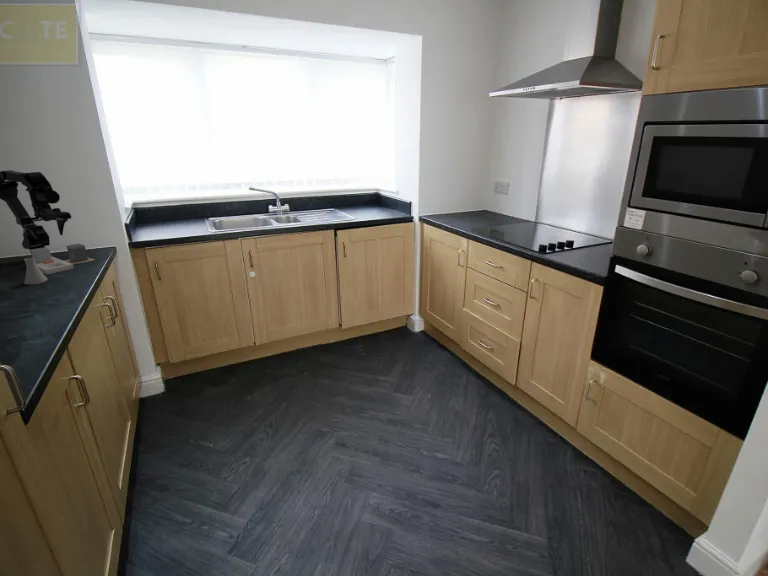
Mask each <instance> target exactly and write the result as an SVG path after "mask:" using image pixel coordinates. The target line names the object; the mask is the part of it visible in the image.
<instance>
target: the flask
mask: <svg viewBox="0 0 768 576" xmlns="http://www.w3.org/2000/svg"><path fill="white" fill-rule="evenodd" d="M23 261H24V262H26V263H25V266H26V271H25V276H24V277H25V278H24V285H38V284H41V283H45V282H48V280H49V278H48V277H47V276H46V274H44V273H42V272H41V271H40V269H39V268H38V267H37V265H36V263H35V258H32V257H27V258H24V259H23Z"/></svg>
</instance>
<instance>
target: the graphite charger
mask: <svg viewBox="0 0 768 576" xmlns="http://www.w3.org/2000/svg"><path fill="white" fill-rule="evenodd" d="M66 249H67V253H68V257H69V260H70V261H73V262H76V263H77V262H81V261H86V260H88V257H89V256H88V253H87V249H86V245H85V244H82V243H75V244H74V243H73V244H69V245H66Z"/></svg>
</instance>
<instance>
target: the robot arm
mask: <svg viewBox="0 0 768 576" xmlns="http://www.w3.org/2000/svg"><path fill="white" fill-rule="evenodd" d="M19 183H21V185H22V186H25V187H26V189H25V191H26V192H28V195H29V198H30V202H31V205H30V207H31V208H33V212H34V214H33V215H34V217H32V216H30V214H29V213H28V211H27V209H26V208H25V206H24V205H23V203H22V202H21V200H20V199H19V197H18V195H19V190H18V187H19ZM60 197H61V196H60V194H59V192H58V191H56V190H53V187H52V185H51V182H50V181H49V180H48V179H47V178H46V176H45V175H44V174H43V172H41V171H33V172H22V171H21V172H20V171H17V170H16V171H15V170H9V169H8V170H1V171H0V200H2V201H3V202H5V203H6V205H7V207H8V208H9V210H10V211H11V212H12V214H13V216H14V217H15V221H16V224H17V225H20V226H21V227H22V229H23V231H22V237H23V240H22V243H21V246H22V248H23V249H25V250H29V252H30V255H31V258H33V257H32V254H31V251H30V250H33V249H38V248H46V247H47V246H51V245H50V235H49V233H47V231H46V229H45V228H44V227H43V226H42V225H38V224H36V223H35V222H41V221H44V222H49V221H56V225H57V229H58V231H59V235H60V236H63V234H64V229H65V228H64V227H65V224H66V223H67V222H68V221H69V220H70V219H72V214H71V212H68V211H61V209H60V208H59V207H54V208H52V206H51V204H54V205H55V204H57V203H59V201H60Z"/></svg>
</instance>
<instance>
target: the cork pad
mask: <svg viewBox="0 0 768 576" xmlns="http://www.w3.org/2000/svg"><path fill="white" fill-rule="evenodd" d="M87 257H88V260H86V261H81V262H77V263H76V262H73V261H70V259H65V260H64V261H66V262H69V263H71V264H73V265H76V264H77V265H78V264H81V263H87V262H91V261H95V260H96V259H94V258H91V257H89V256H87Z"/></svg>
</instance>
